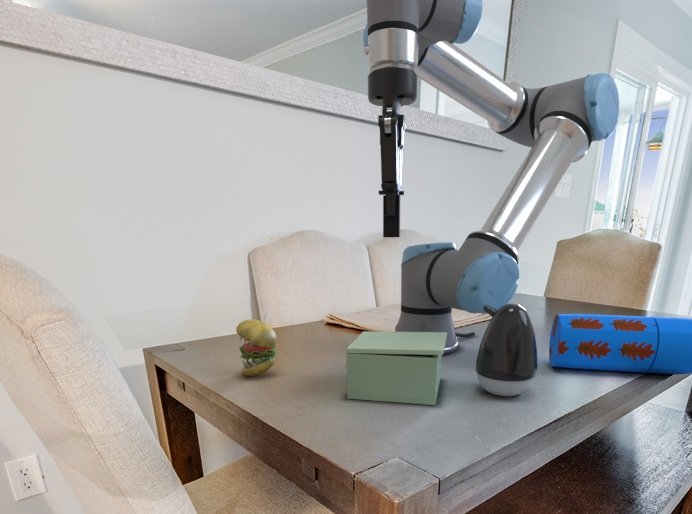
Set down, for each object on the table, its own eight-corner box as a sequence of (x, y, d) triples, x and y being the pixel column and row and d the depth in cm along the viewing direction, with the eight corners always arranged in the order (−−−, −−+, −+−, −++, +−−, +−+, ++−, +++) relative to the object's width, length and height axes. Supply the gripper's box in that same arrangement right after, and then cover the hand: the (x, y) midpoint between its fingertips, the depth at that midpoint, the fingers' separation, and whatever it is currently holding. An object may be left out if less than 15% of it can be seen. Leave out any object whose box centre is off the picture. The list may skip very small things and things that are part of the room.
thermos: (555, 373, 90) (696, 382, 86) (563, 319, 86) (711, 325, 82) (546, 358, 100) (672, 365, 96) (553, 309, 96) (685, 314, 92)
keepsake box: (440, 380, 86) (442, 339, 83) (434, 405, 74) (437, 358, 71) (363, 375, 88) (363, 335, 85) (347, 398, 77) (346, 353, 74)
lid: (447, 336, 82) (447, 332, 82) (443, 355, 71) (443, 350, 71) (363, 335, 85) (363, 331, 85) (346, 353, 74) (346, 348, 74)
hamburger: (245, 368, 92) (239, 308, 88) (282, 368, 92) (277, 308, 88) (236, 381, 85) (229, 316, 80) (275, 380, 85) (271, 316, 81)
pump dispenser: (492, 378, 87) (500, 296, 82) (544, 391, 80) (557, 304, 75) (460, 390, 81) (467, 303, 75) (514, 406, 74) (525, 311, 68)
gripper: (374, 84, 76) (375, 235, 85) (360, 60, 64) (363, 238, 73) (419, 82, 75) (416, 235, 84) (414, 57, 63) (410, 238, 72)
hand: (391, 237), depth 78 cm, fingers closed
